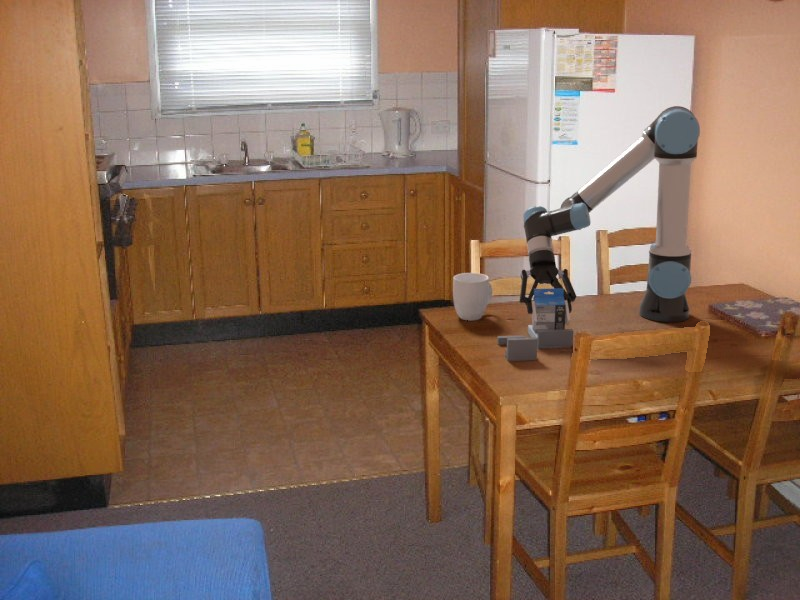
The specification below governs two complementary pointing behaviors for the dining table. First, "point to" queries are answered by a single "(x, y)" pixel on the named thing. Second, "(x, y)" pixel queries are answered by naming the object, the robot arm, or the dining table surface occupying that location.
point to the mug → (471, 295)
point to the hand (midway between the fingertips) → (551, 322)
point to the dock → (552, 338)
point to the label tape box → (549, 309)
